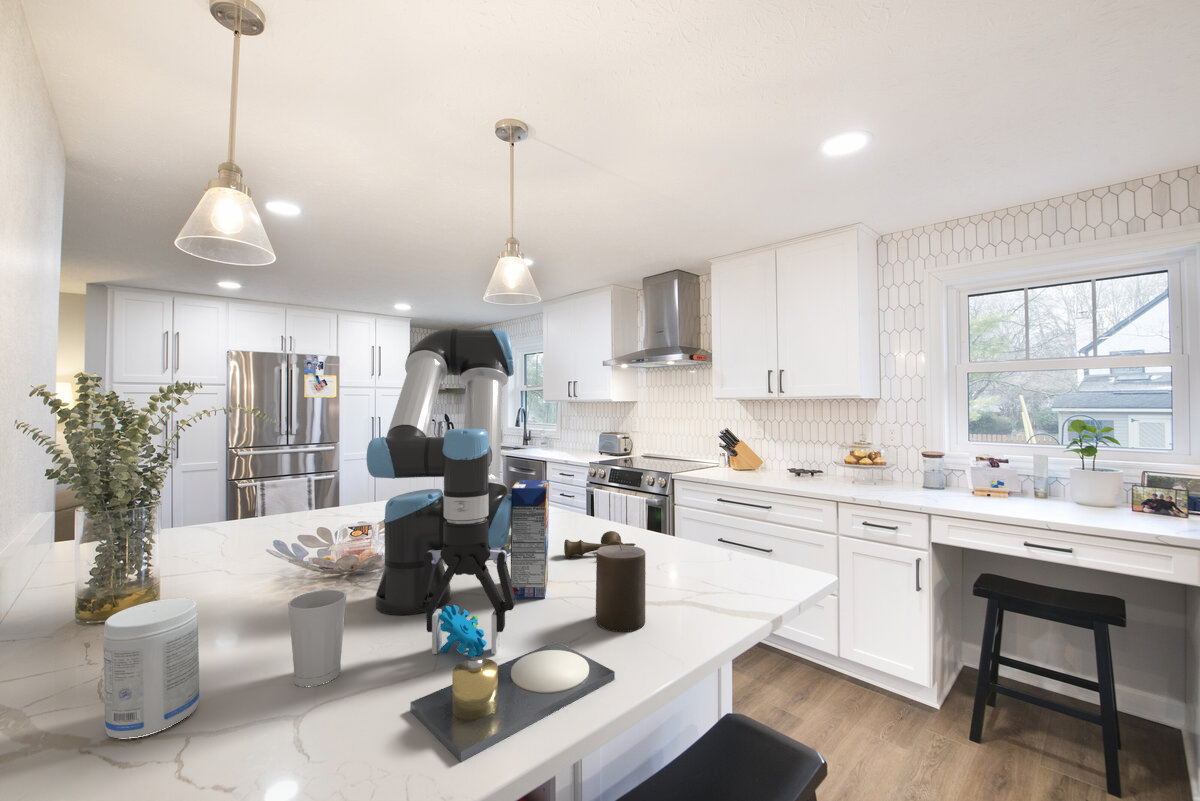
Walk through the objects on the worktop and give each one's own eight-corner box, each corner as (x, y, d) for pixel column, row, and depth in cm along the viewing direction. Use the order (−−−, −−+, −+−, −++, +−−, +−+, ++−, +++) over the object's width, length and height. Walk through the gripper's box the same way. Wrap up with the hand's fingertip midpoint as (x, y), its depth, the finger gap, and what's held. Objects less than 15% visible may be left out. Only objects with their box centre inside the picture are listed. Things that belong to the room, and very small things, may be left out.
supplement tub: (192, 691, 75) (192, 591, 75) (205, 718, 69) (205, 609, 69) (100, 721, 68) (101, 611, 68) (105, 755, 62) (105, 633, 62)
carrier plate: (460, 762, 60) (460, 699, 60) (410, 710, 70) (410, 657, 71) (614, 679, 78) (614, 631, 78) (557, 647, 89) (556, 605, 89)
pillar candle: (632, 636, 93) (633, 553, 93) (586, 625, 98) (586, 546, 98) (653, 617, 101) (654, 541, 101) (610, 607, 106) (610, 535, 106)
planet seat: (504, 693, 73) (504, 690, 73) (517, 651, 85) (517, 650, 85) (588, 693, 73) (588, 690, 73) (589, 651, 85) (589, 650, 85)
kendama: (563, 554, 145) (632, 549, 148) (565, 565, 136) (639, 560, 138) (563, 533, 145) (632, 529, 148) (564, 543, 136) (638, 538, 138)
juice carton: (516, 580, 122) (517, 479, 122) (547, 579, 123) (549, 479, 123) (510, 599, 110) (511, 488, 110) (544, 599, 111) (546, 488, 111)
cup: (333, 658, 85) (333, 586, 85) (355, 674, 80) (355, 597, 80) (279, 678, 79) (279, 600, 79) (300, 696, 74) (300, 613, 74)
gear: (473, 660, 81) (435, 610, 83) (447, 686, 81) (409, 635, 83) (499, 638, 92) (464, 595, 94) (475, 661, 92) (441, 617, 94)
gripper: (393, 524, 84) (392, 661, 84) (527, 523, 84) (527, 661, 84) (410, 514, 91) (410, 639, 91) (533, 514, 91) (533, 639, 91)
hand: (466, 650), depth 87 cm, fingers open, 9 cm apart
